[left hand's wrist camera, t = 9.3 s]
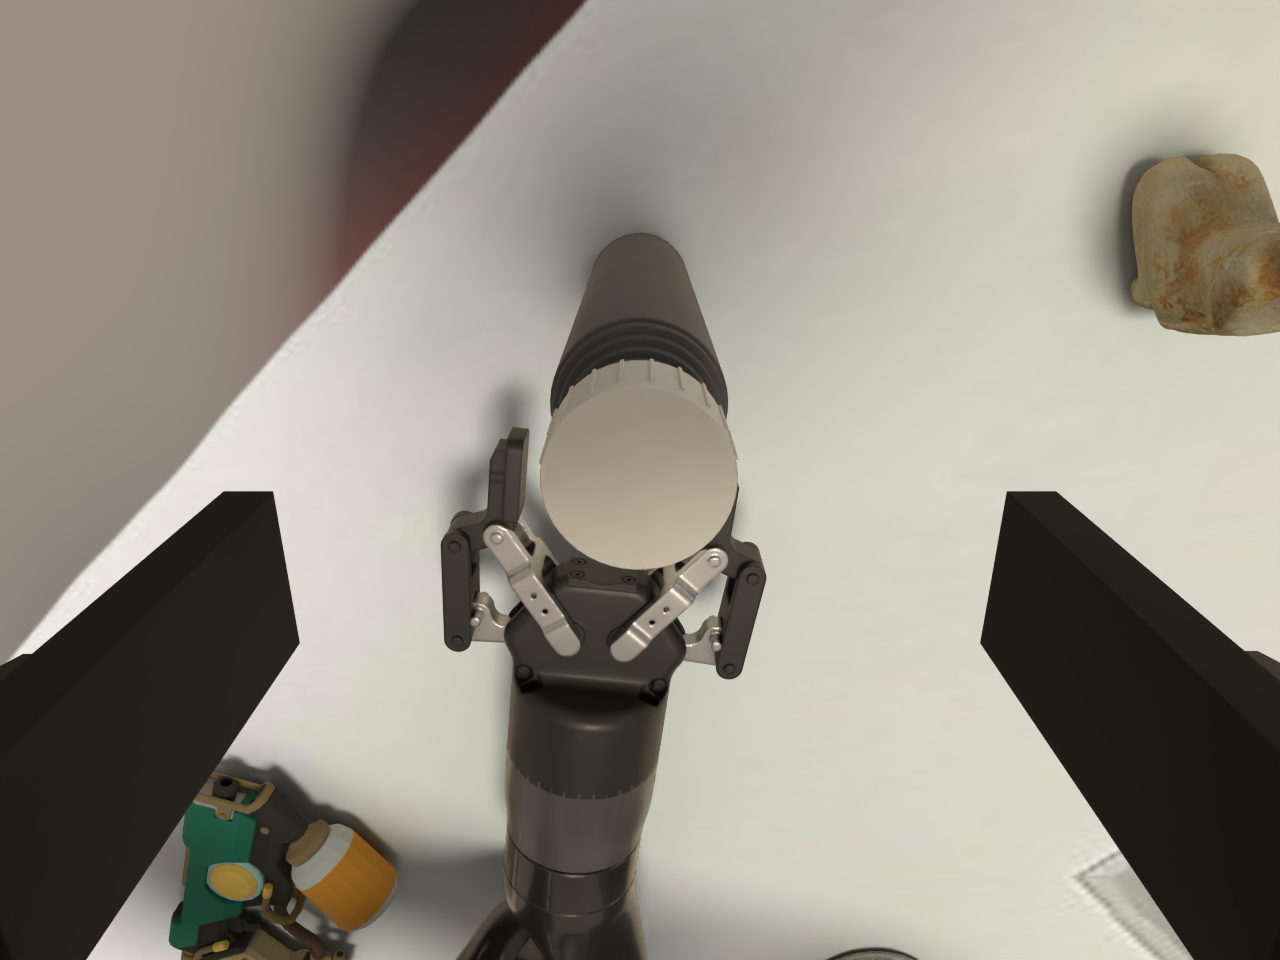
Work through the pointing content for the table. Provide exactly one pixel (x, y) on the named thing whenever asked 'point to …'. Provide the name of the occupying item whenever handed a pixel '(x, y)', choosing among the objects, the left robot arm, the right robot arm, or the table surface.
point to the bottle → (639, 318)
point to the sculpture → (1207, 247)
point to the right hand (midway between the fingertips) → (617, 444)
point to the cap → (638, 466)
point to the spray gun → (269, 875)
